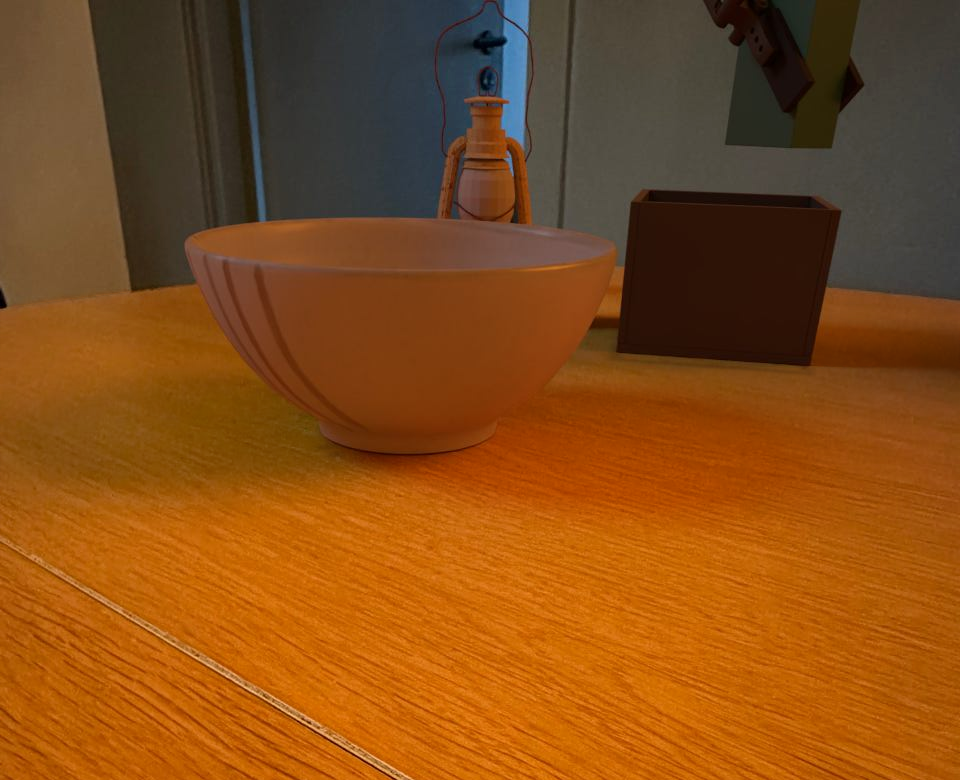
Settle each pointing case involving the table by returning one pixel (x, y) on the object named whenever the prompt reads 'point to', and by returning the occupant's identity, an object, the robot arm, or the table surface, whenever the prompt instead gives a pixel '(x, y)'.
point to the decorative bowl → (402, 318)
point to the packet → (812, 123)
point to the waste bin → (726, 275)
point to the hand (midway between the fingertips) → (823, 98)
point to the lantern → (486, 161)
